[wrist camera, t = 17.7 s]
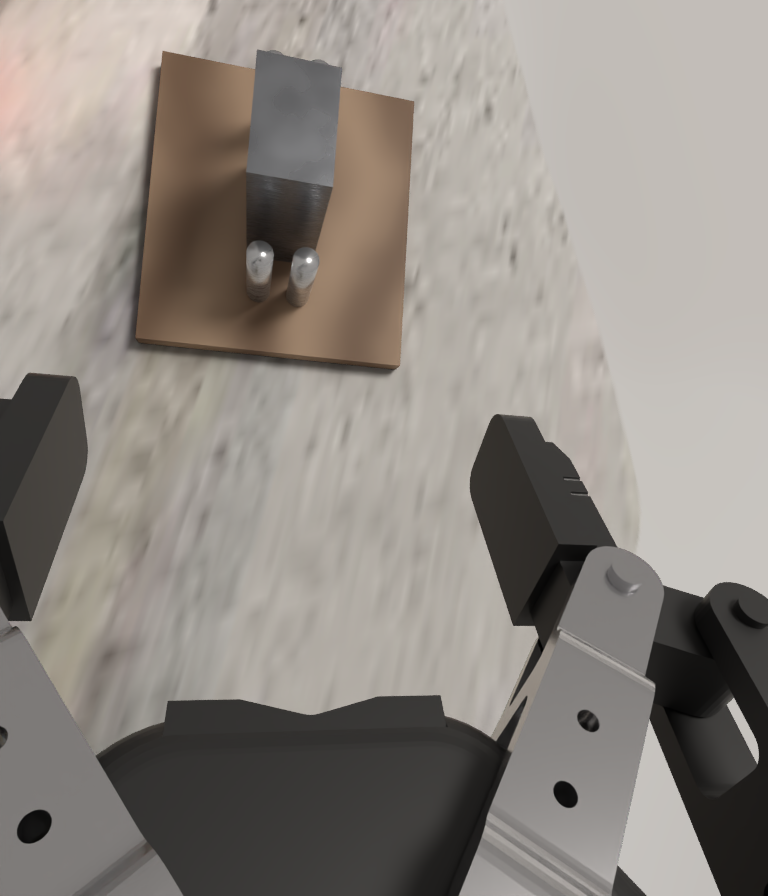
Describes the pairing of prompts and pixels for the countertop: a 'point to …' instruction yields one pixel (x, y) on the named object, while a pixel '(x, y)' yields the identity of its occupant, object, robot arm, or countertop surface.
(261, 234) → the plate
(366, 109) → the pin tray
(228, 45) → the countertop surface
